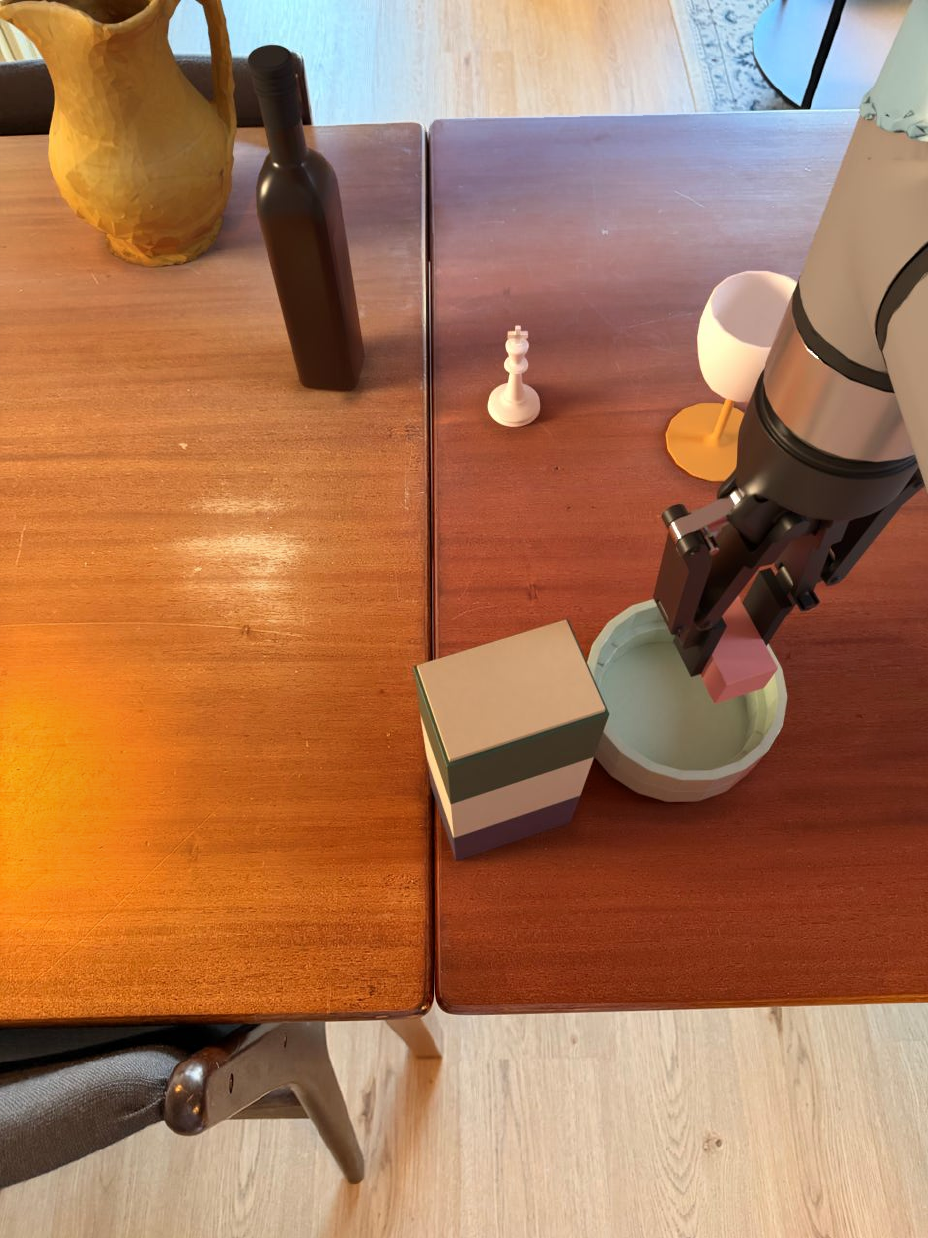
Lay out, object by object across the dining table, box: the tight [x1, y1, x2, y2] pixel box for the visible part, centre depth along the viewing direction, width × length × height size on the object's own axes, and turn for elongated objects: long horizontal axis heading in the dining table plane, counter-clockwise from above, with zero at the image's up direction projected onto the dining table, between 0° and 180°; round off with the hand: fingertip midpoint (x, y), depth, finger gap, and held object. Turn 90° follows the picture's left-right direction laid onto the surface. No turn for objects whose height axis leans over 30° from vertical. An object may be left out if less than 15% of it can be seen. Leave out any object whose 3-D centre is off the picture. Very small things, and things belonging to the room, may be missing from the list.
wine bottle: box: [247, 44, 366, 393], centre depth 74 cm, size 6×6×30 cm
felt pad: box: [416, 619, 605, 762], centre depth 48 cm, size 6×9×1 cm, turn 109°
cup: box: [665, 270, 798, 482], centre depth 76 cm, size 9×9×16 cm
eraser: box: [700, 594, 778, 704], centre depth 57 cm, size 7×4×3 cm, turn 18°
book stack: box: [412, 618, 609, 862], centre depth 58 cm, size 6×9×22 cm, turn 108°
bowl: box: [587, 598, 788, 803], centre depth 68 cm, size 14×14×6 cm
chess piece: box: [487, 325, 541, 428], centre depth 81 cm, size 5×5×10 cm
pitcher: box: [0, 0, 238, 268], centre depth 86 cm, size 17×19×25 cm
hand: (717, 647), depth 58 cm, fingers closed on eraser, 3 cm apart
